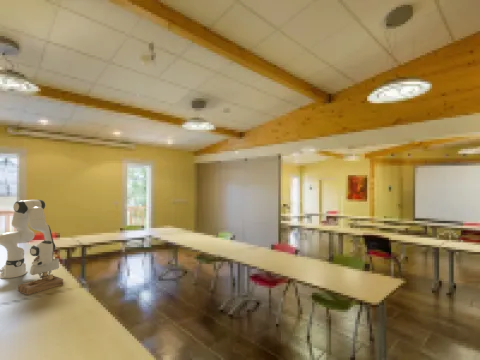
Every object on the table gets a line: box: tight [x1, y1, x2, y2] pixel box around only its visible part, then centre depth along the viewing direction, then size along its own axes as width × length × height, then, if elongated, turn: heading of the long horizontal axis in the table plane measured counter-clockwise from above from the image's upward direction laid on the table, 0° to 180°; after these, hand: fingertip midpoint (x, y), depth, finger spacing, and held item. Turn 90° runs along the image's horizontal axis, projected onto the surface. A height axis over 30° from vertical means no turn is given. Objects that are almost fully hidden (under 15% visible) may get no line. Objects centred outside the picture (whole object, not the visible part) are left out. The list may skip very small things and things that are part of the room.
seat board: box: [17, 275, 64, 296], centre depth 197 cm, size 14×24×4 cm, turn 154°
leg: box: [41, 272, 49, 279], centre depth 209 cm, size 4×4×8 cm
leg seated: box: [47, 273, 54, 281], centre depth 202 cm, size 4×4×8 cm
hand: (44, 277), depth 209 cm, fingers closed on leg, 4 cm apart
